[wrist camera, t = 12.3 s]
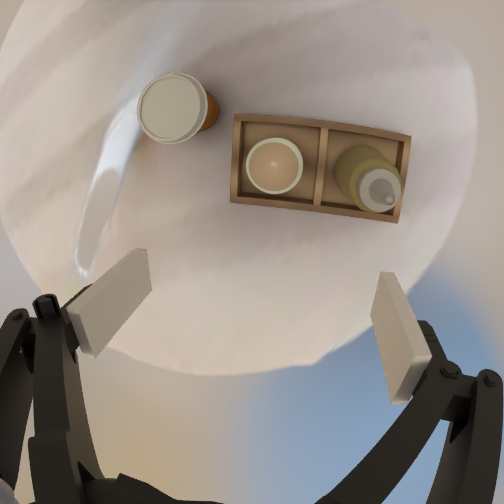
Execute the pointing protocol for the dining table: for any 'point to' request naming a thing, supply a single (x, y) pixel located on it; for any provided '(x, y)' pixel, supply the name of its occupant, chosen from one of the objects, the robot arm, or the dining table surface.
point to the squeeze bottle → (368, 179)
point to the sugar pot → (275, 165)
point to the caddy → (313, 162)
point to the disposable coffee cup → (175, 108)
